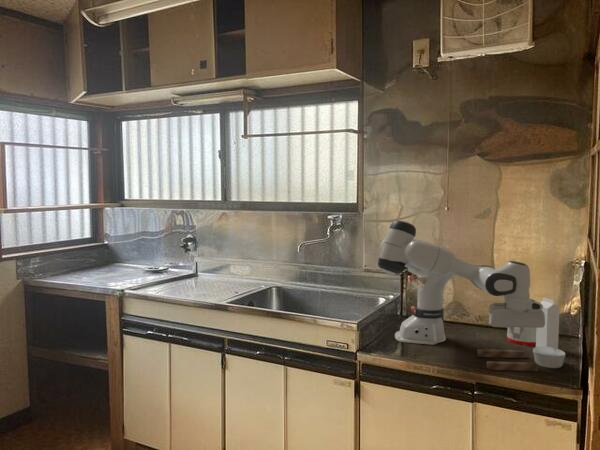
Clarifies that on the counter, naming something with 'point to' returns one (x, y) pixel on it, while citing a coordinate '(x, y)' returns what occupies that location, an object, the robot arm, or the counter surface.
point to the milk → (549, 325)
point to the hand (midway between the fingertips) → (516, 337)
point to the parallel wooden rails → (507, 365)
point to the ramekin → (549, 357)
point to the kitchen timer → (523, 336)
